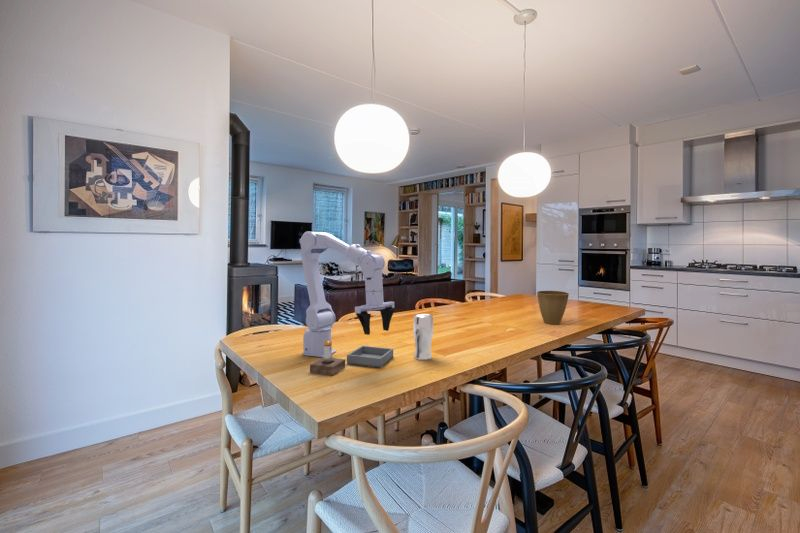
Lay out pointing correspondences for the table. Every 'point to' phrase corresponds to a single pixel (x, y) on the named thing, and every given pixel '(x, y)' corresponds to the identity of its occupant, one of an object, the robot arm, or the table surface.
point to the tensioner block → (327, 366)
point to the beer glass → (423, 336)
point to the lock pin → (327, 352)
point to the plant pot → (552, 305)
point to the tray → (370, 356)
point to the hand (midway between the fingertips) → (376, 332)
